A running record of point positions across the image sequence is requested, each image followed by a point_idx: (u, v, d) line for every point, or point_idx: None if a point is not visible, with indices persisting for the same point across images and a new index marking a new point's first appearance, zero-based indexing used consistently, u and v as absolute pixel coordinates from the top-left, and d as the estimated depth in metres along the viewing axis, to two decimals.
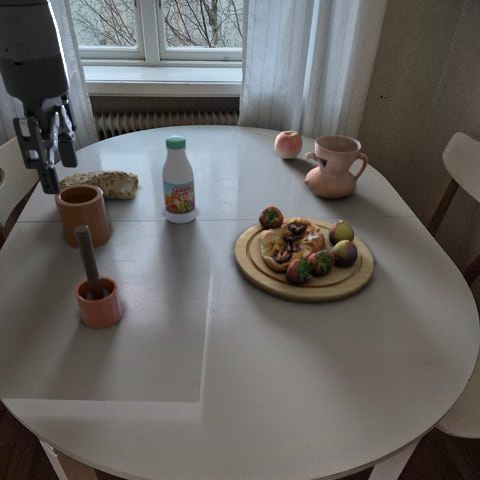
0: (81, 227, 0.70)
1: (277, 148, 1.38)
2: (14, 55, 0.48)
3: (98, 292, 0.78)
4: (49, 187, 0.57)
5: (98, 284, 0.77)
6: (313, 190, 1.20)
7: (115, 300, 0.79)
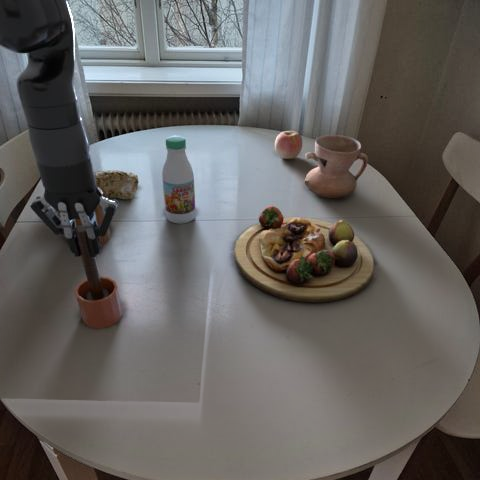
0: (81, 227, 0.70)
1: (277, 148, 1.38)
2: (88, 154, 0.61)
3: (98, 292, 0.78)
4: (99, 247, 0.73)
5: (98, 284, 0.77)
6: (313, 190, 1.20)
7: (115, 300, 0.79)
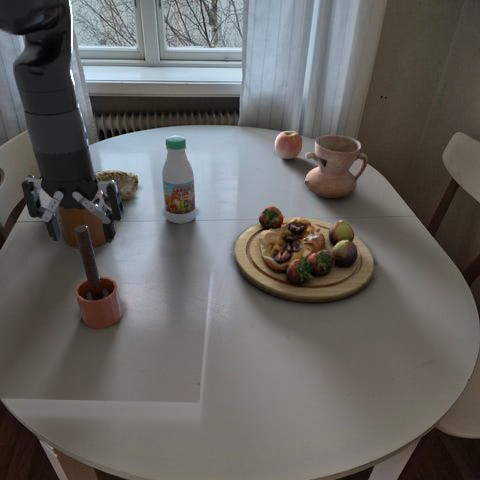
0: (81, 227, 0.70)
1: (277, 148, 1.38)
2: (86, 142, 0.60)
3: (98, 292, 0.78)
4: (113, 233, 0.71)
5: (98, 284, 0.77)
6: (313, 190, 1.20)
7: (115, 300, 0.79)
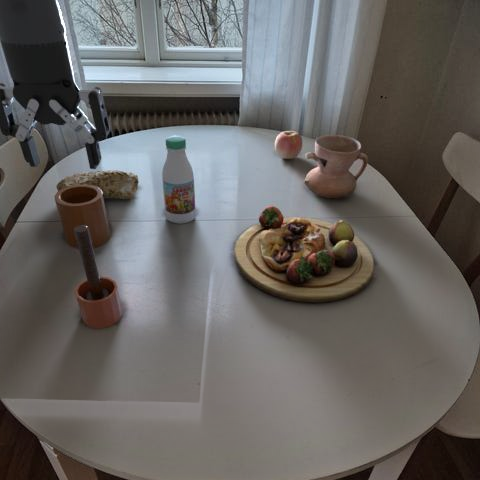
0: (81, 227, 0.70)
1: (277, 148, 1.38)
2: (63, 35, 0.52)
3: (98, 292, 0.78)
4: (99, 158, 0.62)
5: (98, 284, 0.77)
6: (313, 190, 1.20)
7: (115, 300, 0.79)
